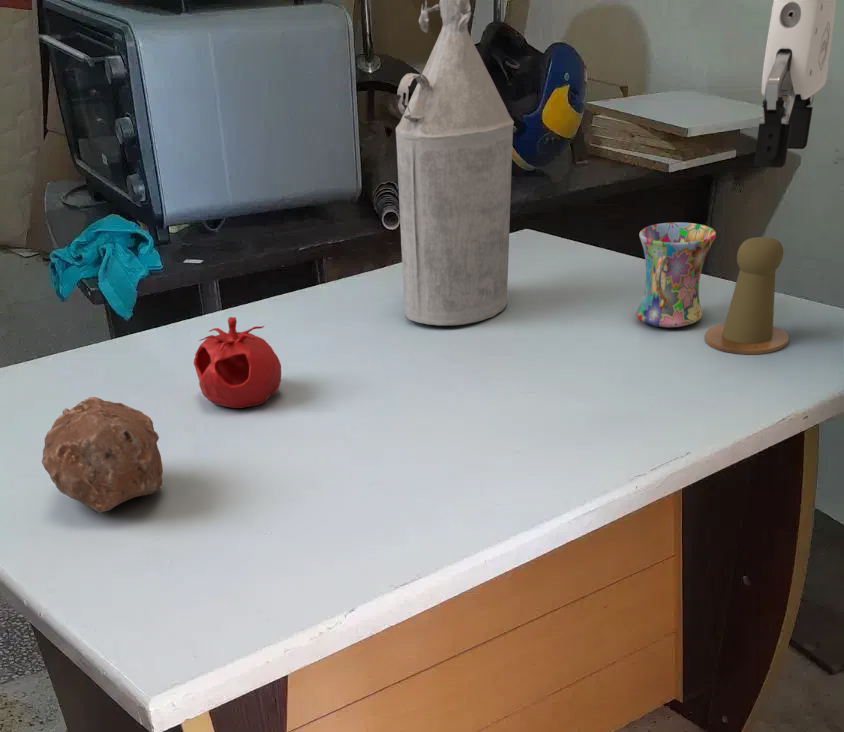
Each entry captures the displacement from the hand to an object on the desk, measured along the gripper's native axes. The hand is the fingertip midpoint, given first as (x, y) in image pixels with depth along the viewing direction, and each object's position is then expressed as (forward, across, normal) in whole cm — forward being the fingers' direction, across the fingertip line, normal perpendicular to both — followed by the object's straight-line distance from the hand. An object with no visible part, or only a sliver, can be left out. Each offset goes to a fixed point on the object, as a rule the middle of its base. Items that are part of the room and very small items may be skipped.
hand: (780, 157), depth 112 cm
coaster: (+20, +1, +1) cm, 20 cm away
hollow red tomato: (+20, -38, +50) cm, 66 cm away
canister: (+20, -2, +40) cm, 45 cm away
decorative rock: (+20, -64, +47) cm, 82 cm away
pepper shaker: (+20, +1, +1) cm, 20 cm away
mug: (+20, +3, +12) cm, 24 cm away
